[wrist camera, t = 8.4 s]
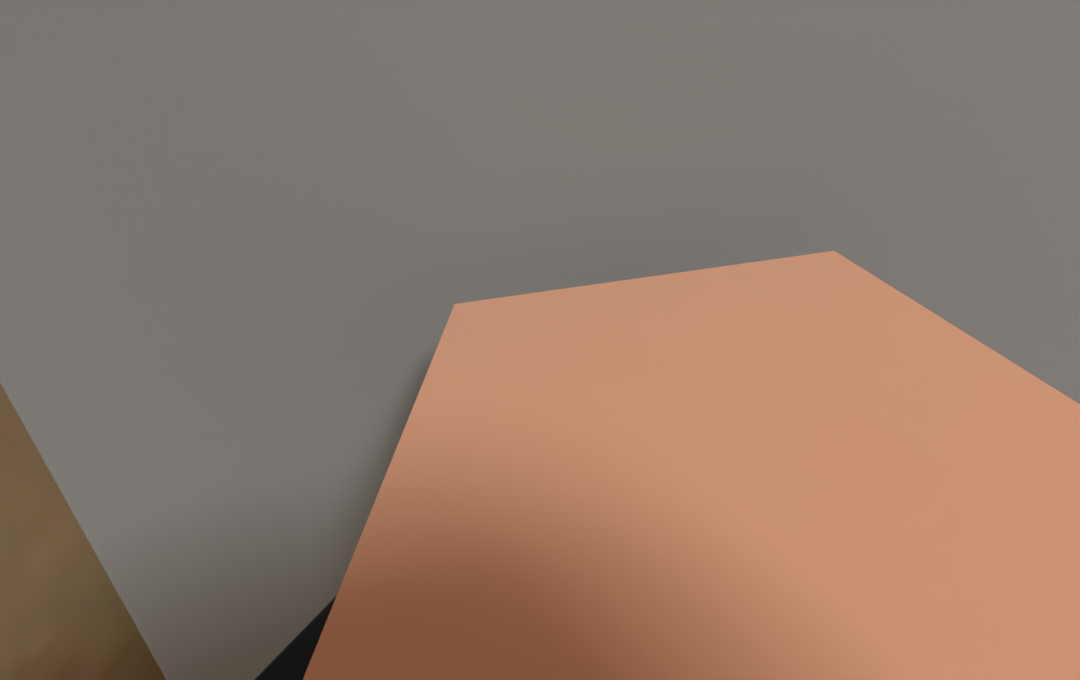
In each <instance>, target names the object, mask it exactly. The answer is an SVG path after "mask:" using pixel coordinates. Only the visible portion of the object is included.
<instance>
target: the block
mask: <svg viewBox="0 0 1080 680" xmlns="http://www.w3.org/2000/svg"><path fill="white" fill-rule="evenodd" d="M303 680H1080V404H1079V403H1077V402H1075V401H1074V400H1072V399H1071V398H1069V397H1067V396H1066V395H1064V394H1063V393H1061V392H1059V391H1058V390H1056V389H1055V388H1053V387H1051V386H1050V385H1048V384H1047V383H1045V382H1043V381H1042V380H1040V379H1039V378H1037V377H1035V376H1034V375H1032V374H1031V373H1029V372H1027V371H1026V370H1024V369H1023V368H1021V367H1019V366H1018V365H1016V364H1015V363H1013V362H1011V361H1010V360H1008V359H1007V358H1005V357H1003V356H1002V355H1000V354H999V353H997V352H995V351H994V350H992V349H991V348H989V347H987V346H986V345H984V344H983V343H981V342H979V341H978V340H976V339H975V338H973V337H971V336H970V335H968V334H967V333H965V332H963V331H962V330H960V329H959V328H957V327H955V326H954V325H952V324H951V323H949V322H947V321H946V320H944V319H943V318H941V317H939V316H938V315H936V314H935V313H933V312H931V311H930V310H928V309H927V308H925V307H923V306H922V305H920V304H919V303H917V302H915V301H914V300H912V299H911V298H909V297H907V296H906V295H904V294H903V293H901V292H899V291H898V290H896V289H895V288H893V287H891V286H890V285H888V284H887V283H885V282H883V281H882V280H880V279H879V278H877V277H875V276H874V275H872V274H871V273H869V272H867V271H866V270H864V269H863V268H861V267H859V266H858V265H856V264H855V263H853V262H851V261H850V260H848V259H847V258H845V257H843V256H842V255H840V254H839V253H837V252H835V251H829V252H822V253H815V254H808V255H800V256H793V257H786V258H779V259H772V260H765V261H758V262H750V263H743V264H736V265H729V266H722V267H715V268H708V269H700V270H693V271H686V272H679V273H672V274H665V275H658V276H651V277H643V278H636V279H629V280H622V281H615V282H608V283H601V284H593V285H586V286H579V287H572V288H565V289H558V290H551V291H543V292H536V293H529V294H522V295H515V296H508V297H501V298H493V299H486V300H479V301H472V302H465V303H458V304H454V307H453V309H452V312H451V314H450V317H449V319H448V322H447V324H446V327H445V329H444V332H443V334H442V337H441V339H440V341H439V344H438V346H437V349H436V351H435V354H434V356H433V359H432V361H431V364H430V366H429V369H428V371H427V374H426V376H425V379H424V381H423V384H422V386H421V388H420V391H419V393H418V396H417V398H416V401H415V403H414V406H413V408H412V411H411V413H410V416H409V418H408V421H407V423H406V426H405V428H404V431H403V433H402V435H401V438H400V440H399V443H398V445H397V448H396V450H395V453H394V455H393V458H392V460H391V463H390V465H389V468H388V470H387V473H386V475H385V477H384V480H383V482H382V485H381V487H380V490H379V492H378V495H377V497H376V500H375V502H374V505H373V507H372V510H371V512H370V515H369V517H368V520H367V522H366V524H365V527H364V529H363V532H362V534H361V537H360V539H359V542H358V544H357V547H356V549H355V552H354V554H353V557H352V559H351V562H350V564H349V566H348V569H347V571H346V574H345V576H344V579H343V581H342V584H341V586H340V589H339V591H338V594H337V596H336V599H335V601H334V604H333V606H332V609H331V611H330V613H329V616H328V618H327V621H326V623H325V626H324V628H323V631H322V633H321V636H320V638H319V641H318V643H317V646H316V648H315V651H314V653H313V656H312V658H311V660H310V663H309V665H308V668H307V670H306V673H305V675H304V678H303Z"/></svg>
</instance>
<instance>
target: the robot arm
mask: <svg viewBox="0 0 1080 680" xmlns="http://www.w3.org/2000/svg"><path fill="white" fill-rule="evenodd" d="M336 596H337V595H336ZM336 596H335V597H334V598H333V599H332V600H331V601H330V602H329V603H328V604H327V605H326V606H325V607H324V608H323V609H322V610H321V611H320V612H319V613H318V614H317V615H316V616H315V617H314V619H313V620H312V621H311V622H310V623H309V624H308V625H307V626H306V627H305V628H304V629H303V630H302V631H301V632H300V633H299V634H298V635H297V636H296V637H295V638H294V639H293V640H292V641H291V642H290V643H289V644H288V645H287V646H286V647H285V648H284V649H283V650H282V651H281V652H280V653H279V654H278V655H277V656H276V657H275V658H274V660H273V661H272V662H271V663H270V664H269V665H268V666H267V667H266V668H265V669H264V670H263V671H262V672H261V673H260V674H259V675H258V676H257V677H256V678H255V679H254V680H303V678H304V675H305V673H306V670H307V668H308V665H309V663H310V660H311V658H312V656H313V653H314V651H315V648H316V646H317V643H318V641H319V638H320V636H321V633H322V631H323V628H324V626H325V623H326V621H327V618H328V616H329V613H330V611H331V609H332V606H333V604H334V601H335V599H336Z"/></svg>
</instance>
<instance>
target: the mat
mask: <svg viewBox="0 0 1080 680" xmlns="http://www.w3.org/2000/svg"><path fill="white" fill-rule="evenodd" d="M829 251H835V252H837V253H839V254H840V255H842V256H843V257H845V258H847V259H848V260H850V261H851V262H853V263H855V264H856V265H858V266H859V267H861V268H863V269H864V270H866V271H867V272H869V273H871V274H872V275H874V276H875V277H877V278H879V279H880V280H882V281H883V282H885V283H887V284H888V285H890V286H891V287H893V288H895V289H896V290H898V291H899V292H901V293H903V294H904V295H906V296H907V297H909V298H911V299H912V300H914V301H915V302H917V303H919V304H920V305H922V306H923V307H925V308H927V309H928V310H930V311H931V312H933V313H935V314H936V315H938V316H939V317H941V318H943V319H944V320H946V321H947V322H949V323H951V324H952V325H954V326H955V327H957V328H959V329H960V330H962V331H963V332H965V333H967V334H968V335H970V336H971V337H973V338H975V339H976V340H978V341H979V342H981V343H983V344H984V345H986V346H987V347H989V348H991V349H992V350H994V351H995V352H997V353H999V354H1000V355H1002V356H1003V357H1005V358H1007V359H1008V360H1010V361H1011V362H1013V363H1015V364H1016V365H1018V366H1019V367H1021V368H1023V369H1024V370H1026V371H1027V372H1029V373H1031V374H1032V375H1034V376H1035V377H1037V378H1039V379H1040V380H1042V381H1043V382H1045V383H1047V384H1048V385H1050V386H1051V387H1053V388H1055V389H1056V390H1058V391H1059V392H1061V393H1063V394H1064V395H1066V396H1067V397H1069V398H1071V399H1072V400H1074V401H1075V402H1077V403H1079V404H1080V0H0V383H1V385H2V387H3V388H4V390H5V392H6V394H7V396H8V397H9V399H10V401H11V403H12V404H13V406H14V408H15V410H16V412H17V413H18V415H19V417H20V419H21V421H22V422H23V424H24V426H25V428H26V430H27V431H28V433H29V435H30V437H31V439H32V440H33V442H34V444H35V446H36V448H37V449H38V451H39V453H40V455H41V456H42V458H43V460H44V462H45V464H46V465H47V467H48V469H49V471H50V473H51V474H52V476H53V478H54V480H55V482H56V483H57V485H58V487H59V489H60V491H61V492H62V494H63V496H64V498H65V500H66V501H67V503H68V505H69V507H70V508H71V510H72V512H73V514H74V516H75V517H76V519H77V521H78V523H79V525H80V526H81V528H82V530H83V532H84V534H85V535H86V537H87V539H88V541H89V543H90V544H91V546H92V548H93V550H94V552H95V553H96V555H97V557H98V559H99V560H100V562H101V564H102V566H103V568H104V569H105V571H106V573H107V575H108V577H109V578H110V580H111V582H112V584H113V586H114V587H115V589H116V591H117V593H118V595H119V596H120V598H121V600H122V602H123V604H124V605H125V607H126V609H127V611H128V612H129V614H130V616H131V618H132V620H133V621H134V623H135V625H136V627H137V629H138V630H139V632H140V634H141V636H142V638H143V639H144V641H145V643H146V645H147V647H148V648H149V650H150V652H151V654H152V656H153V657H154V659H155V661H156V663H157V664H158V666H159V668H160V670H161V672H162V673H163V675H164V677H165V679H166V680H254V679H255V678H256V677H257V676H258V675H259V674H260V673H261V672H262V671H263V670H264V669H265V668H266V667H267V666H268V665H269V664H270V663H271V662H272V661H273V660H274V658H275V657H276V656H277V655H278V654H279V653H280V652H281V651H282V650H283V649H284V648H285V647H286V646H287V645H288V644H289V643H290V642H291V641H292V640H293V639H294V638H295V637H296V636H297V635H298V634H299V633H300V632H301V631H302V630H303V629H304V628H305V627H306V626H307V625H308V624H309V623H310V622H311V621H312V620H313V619H314V617H315V616H316V615H317V614H318V613H319V612H320V611H321V610H322V609H323V608H324V607H325V606H326V605H327V604H328V603H329V602H330V601H331V600H332V599H333V598H334V597H335V596H336V595H337V594H338V591H339V589H340V586H341V584H342V581H343V579H344V576H345V574H346V571H347V569H348V566H349V564H350V562H351V559H352V557H353V554H354V552H355V549H356V547H357V544H358V542H359V539H360V537H361V534H362V532H363V529H364V527H365V524H366V522H367V520H368V517H369V515H370V512H371V510H372V507H373V505H374V502H375V500H376V497H377V495H378V492H379V490H380V487H381V485H382V482H383V480H384V477H385V475H386V473H387V470H388V468H389V465H390V463H391V460H392V458H393V455H394V453H395V450H396V448H397V445H398V443H399V440H400V438H401V435H402V433H403V431H404V428H405V426H406V423H407V421H408V418H409V416H410V413H411V411H412V408H413V406H414V403H415V401H416V398H417V396H418V393H419V391H420V388H421V386H422V384H423V381H424V379H425V376H426V374H427V371H428V369H429V366H430V364H431V361H432V359H433V356H434V354H435V351H436V349H437V346H438V344H439V341H440V339H441V337H442V334H443V332H444V329H445V327H446V324H447V322H448V319H449V317H450V314H451V312H452V309H453V307H454V304H458V303H465V302H472V301H479V300H486V299H493V298H501V297H508V296H515V295H522V294H529V293H536V292H543V291H551V290H558V289H565V288H572V287H579V286H586V285H593V284H601V283H608V282H615V281H622V280H629V279H636V278H643V277H651V276H658V275H665V274H672V273H679V272H686V271H693V270H700V269H708V268H715V267H722V266H729V265H736V264H743V263H750V262H758V261H765V260H772V259H779V258H786V257H793V256H800V255H808V254H815V253H822V252H829Z"/></svg>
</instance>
